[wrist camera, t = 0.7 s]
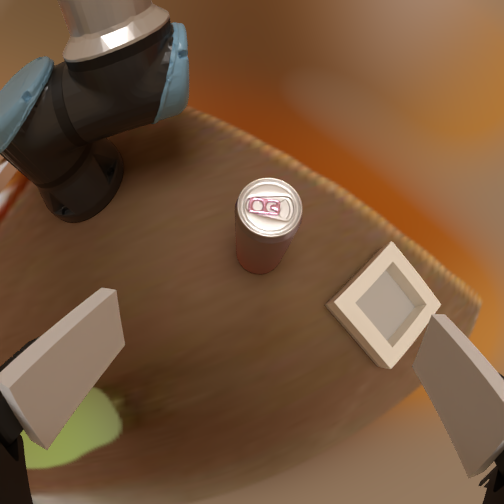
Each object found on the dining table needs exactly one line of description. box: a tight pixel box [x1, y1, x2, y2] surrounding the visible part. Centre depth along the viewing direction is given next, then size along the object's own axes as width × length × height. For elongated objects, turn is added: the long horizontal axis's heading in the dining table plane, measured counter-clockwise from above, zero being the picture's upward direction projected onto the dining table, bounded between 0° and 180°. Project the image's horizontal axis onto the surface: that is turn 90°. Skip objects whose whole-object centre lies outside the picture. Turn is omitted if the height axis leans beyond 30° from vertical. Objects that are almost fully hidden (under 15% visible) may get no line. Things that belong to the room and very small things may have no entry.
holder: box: [325, 241, 441, 369], centre depth 35 cm, size 12×12×4 cm
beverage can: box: [235, 178, 302, 274], centre depth 31 cm, size 6×6×15 cm
